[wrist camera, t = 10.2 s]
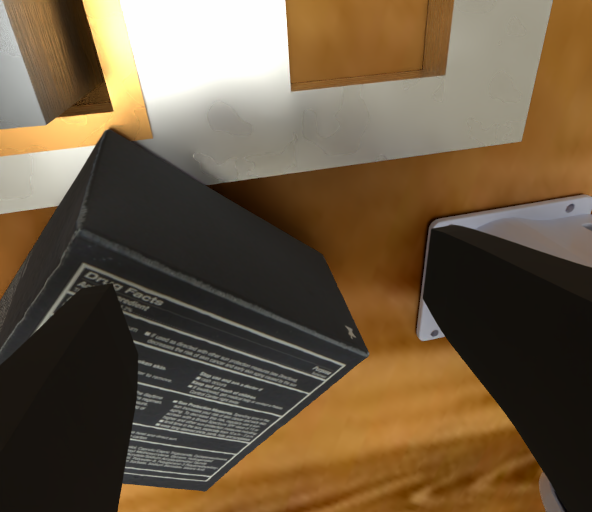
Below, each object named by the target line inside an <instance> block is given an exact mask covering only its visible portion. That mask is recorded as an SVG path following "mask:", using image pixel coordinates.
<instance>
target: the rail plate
mask: <svg viewBox="0 0 592 512" xmlns="http://www.w3.org/2000/svg"><path fill="white" fill-rule="evenodd" d="M82 1H83V4H84V8H85V11H86V15H87V18H88V22H89V25H90V29H91V32H92V36H93V39H94V43H95V46H96V50H97V54H98V57H99V61H100V64H101V68H102V71H103V75H104V78H105V82H106V85H107V89H108V92H109V96H110V99H111V102H109V103H99V104H89V105H80V106H71V107H70V108H68V109H67V110H66V111H64V112H63V113H62V114H60V115H59V116H58V117H57V118H55V119H54V120H53V121H51V122H50V123H49V124H47V125H44V126H33V127H22V128H11V129H1V130H0V214H3V213H10V212H18V211H25V210H32V209H39V208H46V207H53V206H59V204H60V202H61V201H62V199H63V198H64V196H65V194H66V193H67V191H68V190H69V188H70V187H71V185H72V184H73V182H74V180H75V179H76V177H77V176H78V174H79V172H80V170H81V169H82V167H83V166H84V164H85V163H86V161H87V159H88V157H89V156H90V154H91V152H92V151H93V149H94V147H95V145H96V144H97V142H98V141H99V139H100V137H101V136H102V134H103V133H104V131H105V130H112V131H114V132H115V133H117V134H119V135H121V136H122V137H124V138H126V139H127V140H129V141H131V142H132V143H134V144H136V145H137V146H139V147H141V148H142V149H144V150H146V151H147V152H149V153H151V154H153V155H154V156H156V157H158V158H159V159H161V160H163V161H165V162H166V163H168V164H170V165H171V166H173V167H175V168H177V169H178V170H180V171H182V172H183V173H185V174H187V175H188V176H190V177H192V178H193V179H195V180H197V181H199V182H200V183H202V184H204V185H211V184H219V183H226V182H233V181H240V180H247V179H255V178H262V177H269V176H276V175H283V174H290V173H298V172H305V171H312V170H319V169H326V168H334V167H341V166H348V165H355V164H362V163H369V162H377V161H384V160H391V159H398V158H405V157H413V156H420V155H427V154H434V153H441V152H449V151H456V150H463V149H470V148H477V147H484V146H492V145H499V144H506V143H513V142H520V141H522V137H523V132H524V128H525V123H526V119H527V114H528V110H529V105H530V101H531V96H532V92H533V87H534V83H535V78H536V74H537V69H538V65H539V60H540V56H541V51H542V47H543V42H544V38H545V33H546V29H547V25H548V20H549V16H550V11H551V7H552V2H553V0H429V4H428V15H427V26H426V37H425V49H424V60H423V70H418V71H408V72H399V73H389V74H379V75H370V76H360V77H350V78H341V79H331V80H321V81H312V82H302V83H292V84H291V83H290V68H289V53H288V37H287V22H286V7H285V0H82Z"/></svg>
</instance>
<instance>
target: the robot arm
mask: <svg viewBox="0 0 592 512" xmlns="http://www.w3.org/2000/svg"><path fill="white" fill-rule="evenodd" d="M567 206H568V207H567ZM591 210H592V197H591V196H589V195H585V194H583V195H577V196H571V197H565V198H559V199H553V200H547V201H542V202H536V203H530V204H524V205H518V206H512V207H506V208H500V209H494V210H488V211H482V212H476V213H470V214H464V215H458V216H452V217H446V218H440V219H436V220H435V221H433V222H432V223H431V225H430V227H429V231H428V239H427V248H426V256H425V265H424V273H423V281H422V290H421V298H420V307H419V315H418V324H417V332H416V333H417V336H418V338H419V339H420V340H422V341H427V340H431V339H436V338H441V337H446V338H447V340H448V341H449V342H450V343H451V345H452V346H453V347H454V349H455V350H456V351H457V352H458V354H459V355H460V356H461V358H462V359H463V360H464V361H465V363H466V364H467V365H468V367H469V368H470V369H471V370H472V372H473V373H474V374H475V375H476V377H477V378H478V379H479V380H480V382H481V383H482V384H483V385H484V387H485V388H486V389H487V391H488V392H489V393H490V394H491V396H492V397H493V398H494V399H495V401H496V402H497V403H498V404H499V406H500V407H501V408H502V410H503V411H504V412H505V414H506V415H507V417H508V418H509V419H510V421H511V422H512V423H513V425H514V426H515V428H516V429H517V431H518V432H519V434H520V435H521V437H522V439H523V440H524V442H525V443H526V445H527V446H528V448H529V450H530V451H531V453H532V454H533V456H534V457H535V459H536V460H537V462H538V464H539V465H540V467H541V468H542V470H543V473H542V474H541V477H540V480H539V488H540V494H541V498H542V501H543V504H544V507H545V511H546V512H592V215H591V214H590V213H591ZM450 224H451V225H450ZM448 225H449V226H448ZM432 331H433V332H432ZM137 387H138V352H137V349H136V347H135V344H134V341H133V338H132V336H131V333H130V330H129V327H128V325H127V322H126V319H125V316H124V313H123V311H122V308H121V305H120V302H119V300H118V297H117V294H116V291H115V289H114V286H113V283H110V284H104V285H98V286H92V287H86V288H82V289H80V290H79V291H78V292H77V293H75V294H74V295H73V296H72V297H71V298H70V299H69V300H68V301H67V302H66V303H65V304H64V305H63V306H62V307H60V308H59V309H58V310H57V311H56V312H55V313H54V314H53V315H52V316H51V317H50V318H49V319H48V320H47V321H46V322H45V323H44V324H43V325H42V326H41V327H40V328H39V329H38V330H37V331H36V332H35V333H34V334H33V335H32V336H31V337H30V338H29V339H28V340H26V341H25V342H24V343H23V344H22V345H21V346H20V347H19V348H18V349H17V350H16V351H15V352H14V353H13V354H12V355H11V356H10V357H9V358H8V359H6V360H5V361H4V362H3V363H2V364H1V365H0V512H117V511H118V504H119V498H120V493H121V487H122V482H123V476H124V470H125V465H126V459H127V453H128V448H129V442H130V436H131V431H132V425H133V419H134V413H135V407H136V401H137Z"/></svg>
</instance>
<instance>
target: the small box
mask: <svg viewBox="0 0 592 512" xmlns="http://www.w3.org/2000/svg"><path fill="white" fill-rule="evenodd" d="M110 283H113V286H114V289H115V291H116V294H117V297H118V300H119V302H120V305H121V308H122V311H123V313H124V316H125V319H126V322H127V325H128V327H129V330H130V333H131V336H132V338H133V341H134V344H135V347H136V349H137V352H138V387H137V401H136V407H135V413H134V419H133V425H132V431H131V436H130V442H129V448H128V453H127V459H126V465H125V470H124V476H123V482H122V483H123V484H134V485H144V486H155V487H164V488H176V489H187V490H199V491H207V490H208V489H209V488H210V487H211V486H212V485H213V484H214V483H215V482H217V481H218V480H219V479H220V478H221V477H222V476H223V475H224V474H225V473H227V472H228V471H229V470H230V469H231V468H232V467H233V466H235V465H236V464H237V463H238V462H239V461H240V460H241V459H243V458H244V457H245V456H246V455H247V454H249V453H250V452H251V451H253V450H254V449H255V448H256V447H257V446H258V445H260V444H261V443H262V442H263V441H265V440H266V439H267V438H268V437H269V436H271V435H272V434H273V433H274V432H275V431H276V430H278V429H279V428H280V427H281V426H283V425H285V424H286V423H287V422H288V421H289V420H291V419H292V418H293V417H294V416H296V415H297V414H298V413H299V412H300V411H302V410H303V409H304V408H305V407H306V406H308V405H309V404H310V403H311V402H312V401H314V400H315V399H317V398H318V397H319V396H320V395H321V394H322V393H324V392H325V391H326V390H328V389H329V388H330V387H331V386H332V385H333V384H334V383H336V382H337V381H338V380H339V379H341V378H342V377H343V376H344V375H346V374H347V373H348V372H349V371H350V370H351V369H353V368H354V367H355V366H356V365H357V364H359V363H360V362H361V361H363V360H364V359H365V358H367V357H368V356H369V352H368V349H367V347H366V346H365V343H364V341H363V339H362V337H361V335H360V333H359V331H358V328H357V326H356V324H355V322H354V320H353V318H352V316H351V313H350V311H349V309H348V307H347V305H346V303H345V301H344V298H343V296H342V294H341V292H340V290H339V288H338V287H337V283H336V282H335V280H334V277H333V275H332V273H331V271H330V269H329V267H328V265H327V263H326V260H325V258H324V256H323V255H322V254H321V253H319V252H318V251H316V250H314V249H313V248H311V247H309V246H307V245H306V244H304V243H302V242H301V241H299V240H297V239H295V238H294V237H292V236H290V235H289V234H287V233H285V232H284V231H282V230H280V229H278V228H277V227H275V226H273V225H272V224H270V223H268V222H267V221H265V220H263V219H261V218H260V217H258V216H256V215H255V214H253V213H251V212H250V211H248V210H246V209H244V208H243V207H241V206H239V205H238V204H236V203H234V202H232V201H231V200H229V199H227V198H226V197H224V196H222V195H221V194H219V193H217V192H216V191H214V190H212V189H211V188H209V187H207V186H206V185H204V184H202V183H200V182H199V181H197V180H195V179H193V178H192V177H190V176H188V175H187V174H185V173H183V172H182V171H180V170H178V169H177V168H175V167H173V166H171V165H170V164H168V163H166V162H165V161H163V160H161V159H159V158H158V157H156V156H154V155H153V154H151V153H149V152H147V151H146V150H144V149H142V148H141V147H139V146H137V145H136V144H134V143H132V142H131V141H129V140H127V139H126V138H124V137H122V136H121V135H119V134H117V133H115V132H114V131H112V130H105V131H104V133H103V134H102V136H101V137H100V139H99V141H98V142H97V144H96V145H95V147H94V149H93V151H92V152H91V154H90V156H89V157H88V159H87V161H86V163H85V164H84V166H83V167H82V169H81V170H80V172H79V174H78V176H77V177H76V179H75V180H74V182H73V184H72V185H71V187H70V188H69V190H68V191H67V193H66V194H65V196H64V198H63V199H62V201H61V202H60V204H59V206H58V207H57V209H56V211H55V212H54V214H53V216H52V217H51V219H50V220H49V222H48V224H47V225H46V227H45V228H44V230H43V231H42V233H41V235H40V237H39V238H38V240H37V242H36V243H35V245H34V246H33V248H32V250H31V251H30V253H29V254H28V256H27V258H26V259H25V261H24V263H23V264H22V266H21V267H20V269H19V271H18V272H17V274H16V276H15V277H14V279H13V281H12V282H11V284H10V285H9V287H8V289H7V290H6V292H5V293H4V295H3V297H2V298H1V300H0V365H1V364H2V363H3V362H4V361H5V360H6V359H8V358H9V357H10V356H11V355H12V354H13V353H14V352H15V351H16V350H17V349H18V348H19V347H20V346H21V345H22V344H23V343H24V342H25V341H26V340H28V339H29V338H30V337H31V336H32V335H33V334H34V333H35V332H36V331H37V330H38V329H39V328H40V327H41V326H42V325H43V324H44V323H45V322H46V321H47V320H48V319H49V318H50V317H51V316H52V315H53V314H54V313H55V312H56V311H57V310H58V309H59V308H60V307H62V306H63V305H64V304H65V303H66V302H67V301H68V300H69V299H70V298H71V297H72V296H73V295H74V294H75V293H77V292H78V291H79V290H80V289H82V288H86V287H92V286H98V285H104V284H110Z"/></svg>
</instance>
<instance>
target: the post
mask: <svg viewBox="0 0 592 512" xmlns="http://www.w3.org/2000/svg"><path fill="white" fill-rule="evenodd" d="M102 82H103V80H102V76H101V72H100V68H99V65H98V61H97V57H96V53H95V50H94V46H93V42H92V39H91V35H90V31H89V27H88V24H87V20H86V16H85V12H84V9H83V5H82V1H81V0H0V130H1V129H11V128H22V127H33V126H44V125H47V124H49V123H50V122H51V121H53V120H54V119H55V118H57V117H58V116H59V115H60V114H62V113H63V112H64V111H66V110H67V109H68V108H70V107H71V106H72V105H73V104H75V103H76V102H77V101H79V100H80V99H81V98H83V97H84V96H85V95H87V94H88V93H89V92H90V91H92V90H93V89H94V88H96V87H97V86H98V85H100V84H101V83H102Z"/></svg>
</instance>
